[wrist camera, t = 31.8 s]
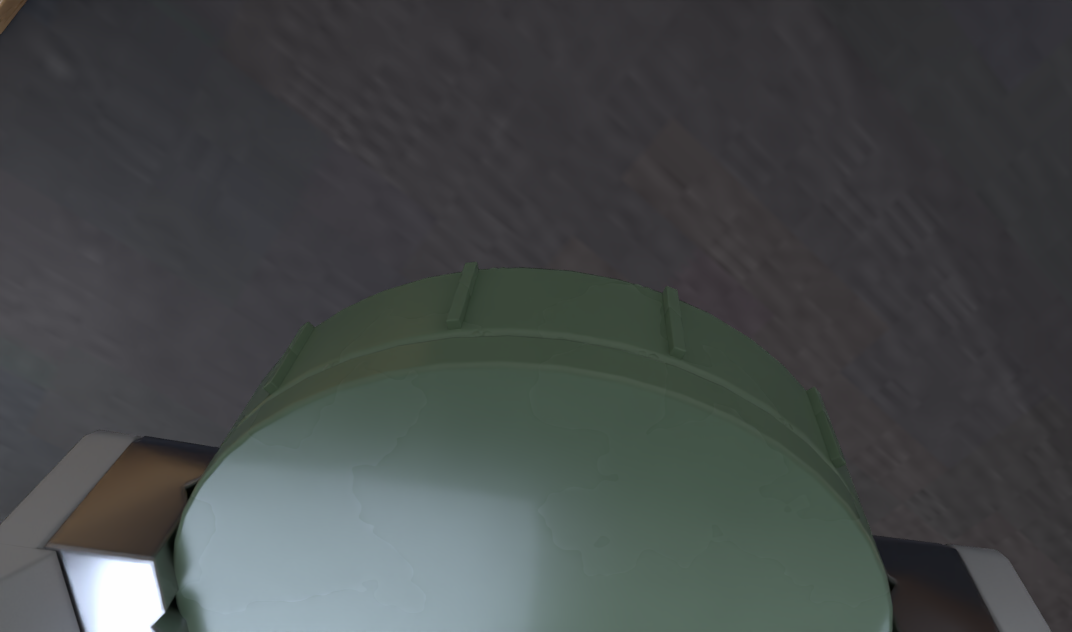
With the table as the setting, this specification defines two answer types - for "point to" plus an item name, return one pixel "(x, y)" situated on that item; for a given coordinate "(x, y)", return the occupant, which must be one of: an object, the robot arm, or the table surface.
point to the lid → (528, 475)
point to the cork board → (9, 11)
